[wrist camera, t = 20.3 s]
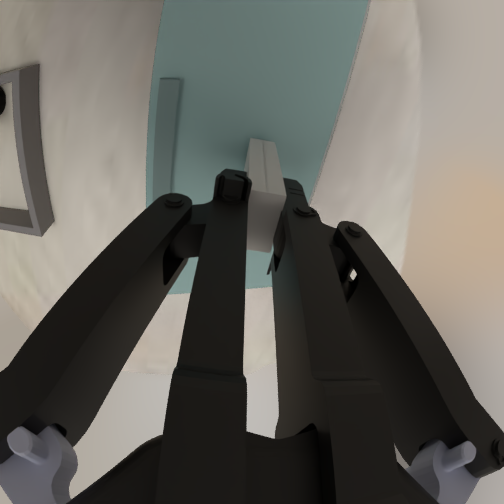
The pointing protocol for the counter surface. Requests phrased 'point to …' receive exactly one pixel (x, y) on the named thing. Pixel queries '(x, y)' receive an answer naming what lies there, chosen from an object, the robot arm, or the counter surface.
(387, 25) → the counter surface
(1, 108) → the film camera
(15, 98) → the camera corral
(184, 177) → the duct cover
